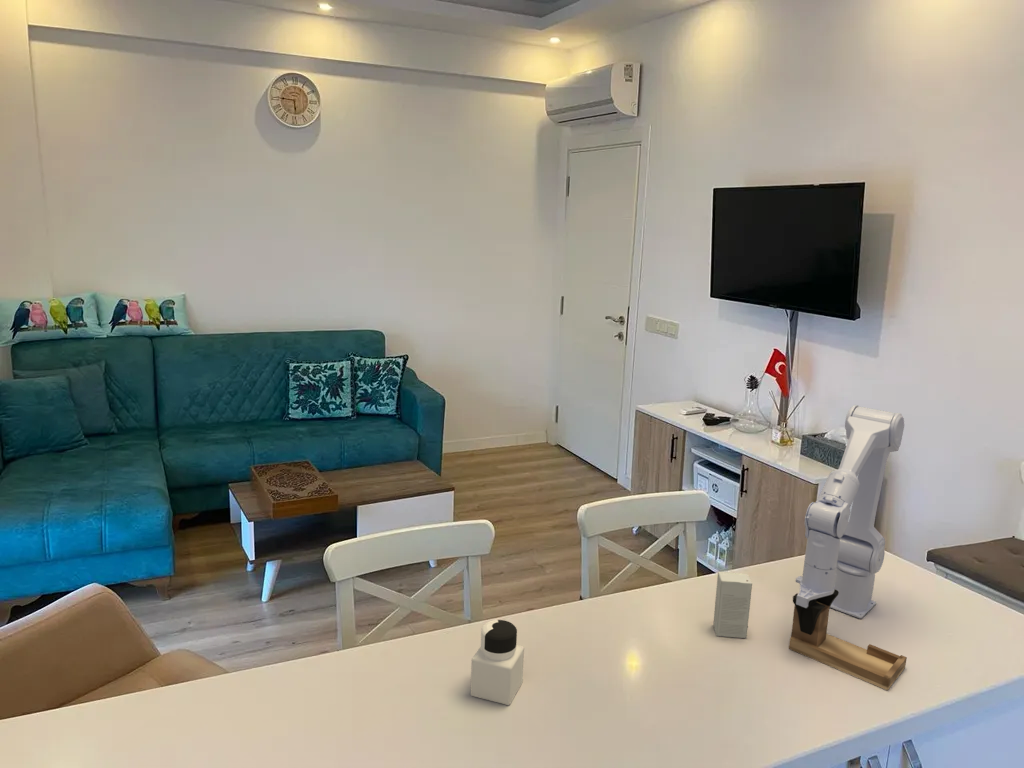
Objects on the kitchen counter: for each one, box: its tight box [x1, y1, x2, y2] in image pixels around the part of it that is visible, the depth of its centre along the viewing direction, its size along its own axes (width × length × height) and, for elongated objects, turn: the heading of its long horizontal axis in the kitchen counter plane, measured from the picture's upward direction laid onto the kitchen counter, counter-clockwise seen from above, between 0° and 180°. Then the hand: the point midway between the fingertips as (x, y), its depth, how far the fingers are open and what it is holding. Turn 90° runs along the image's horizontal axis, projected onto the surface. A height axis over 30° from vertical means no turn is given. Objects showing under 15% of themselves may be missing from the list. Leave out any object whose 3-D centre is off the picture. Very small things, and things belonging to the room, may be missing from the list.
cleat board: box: [788, 633, 908, 691], centre depth 141 cm, size 10×18×2 cm, turn 47°
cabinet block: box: [790, 602, 831, 647], centre depth 145 cm, size 4×5×8 cm
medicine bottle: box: [470, 619, 525, 706], centre depth 127 cm, size 7×7×12 cm
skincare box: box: [712, 571, 753, 639], centre depth 148 cm, size 6×4×12 cm
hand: (811, 627), depth 146 cm, fingers closed on cabinet block, 4 cm apart
